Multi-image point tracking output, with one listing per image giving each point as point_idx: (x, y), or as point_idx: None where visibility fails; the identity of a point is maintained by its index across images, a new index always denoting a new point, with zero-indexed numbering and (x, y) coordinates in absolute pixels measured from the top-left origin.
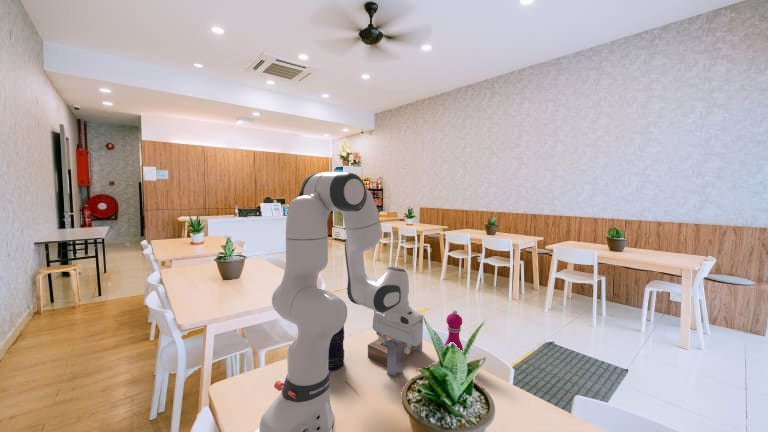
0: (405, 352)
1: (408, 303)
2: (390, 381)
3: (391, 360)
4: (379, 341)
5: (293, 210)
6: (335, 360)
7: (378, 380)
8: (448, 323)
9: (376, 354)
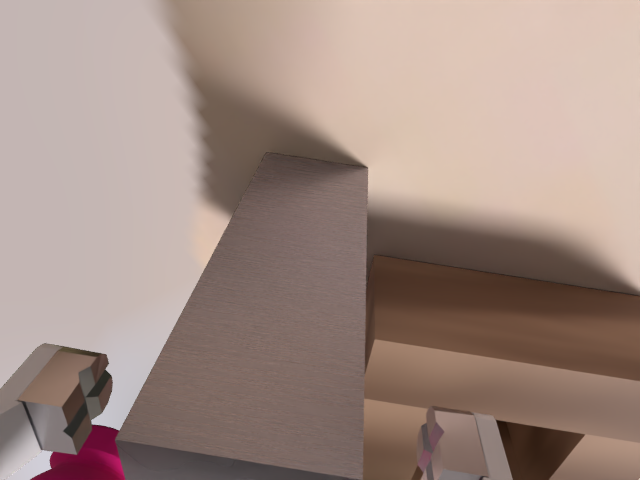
0: (58, 361)
1: None
2: (274, 77)
3: (298, 240)
4: (602, 464)
5: None
6: None
7: (387, 21)
8: None
9: (565, 322)
